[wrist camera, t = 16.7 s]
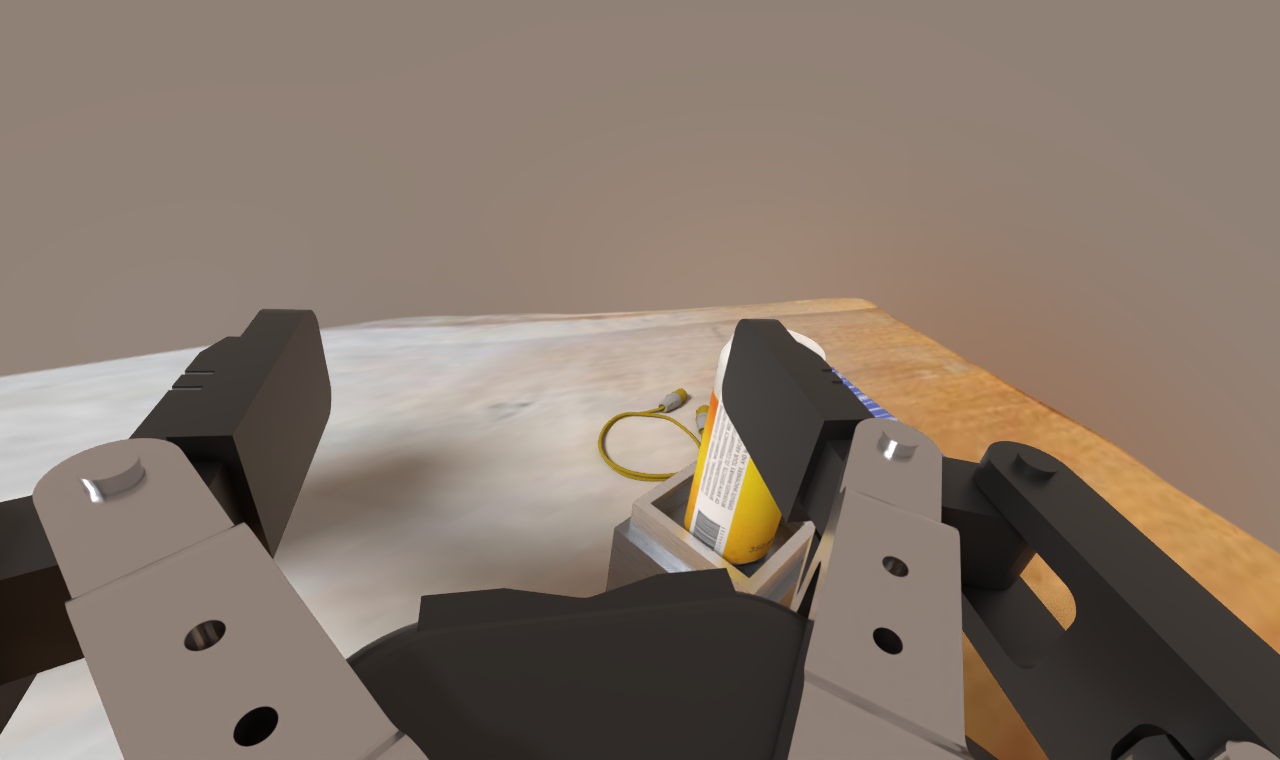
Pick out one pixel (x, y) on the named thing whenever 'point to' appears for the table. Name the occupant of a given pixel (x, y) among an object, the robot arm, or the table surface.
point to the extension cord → (666, 405)
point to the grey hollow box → (699, 546)
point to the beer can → (731, 485)
